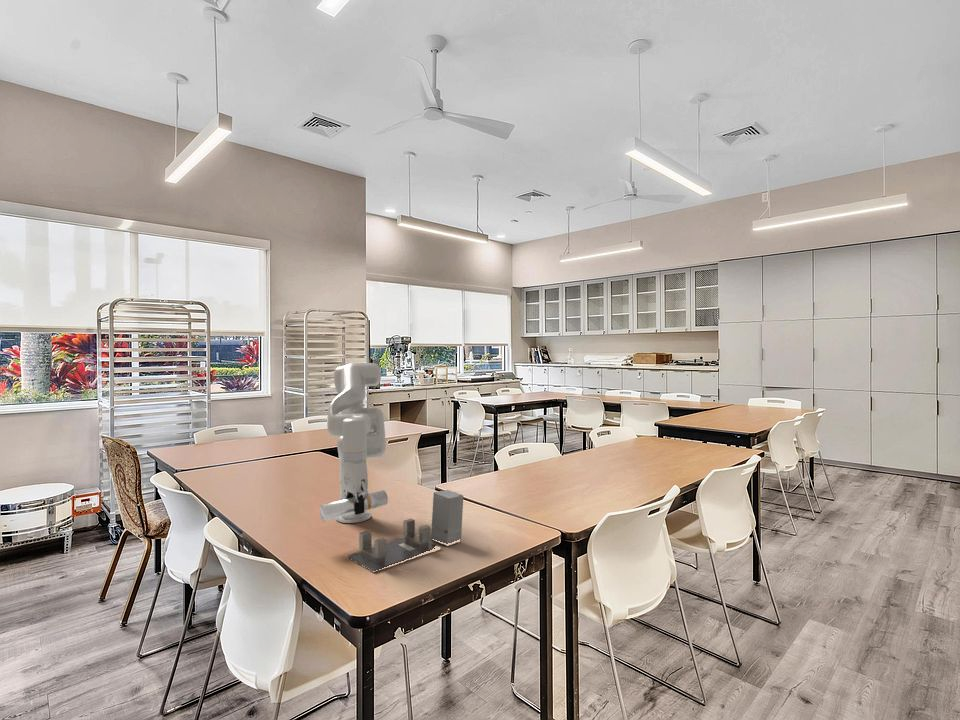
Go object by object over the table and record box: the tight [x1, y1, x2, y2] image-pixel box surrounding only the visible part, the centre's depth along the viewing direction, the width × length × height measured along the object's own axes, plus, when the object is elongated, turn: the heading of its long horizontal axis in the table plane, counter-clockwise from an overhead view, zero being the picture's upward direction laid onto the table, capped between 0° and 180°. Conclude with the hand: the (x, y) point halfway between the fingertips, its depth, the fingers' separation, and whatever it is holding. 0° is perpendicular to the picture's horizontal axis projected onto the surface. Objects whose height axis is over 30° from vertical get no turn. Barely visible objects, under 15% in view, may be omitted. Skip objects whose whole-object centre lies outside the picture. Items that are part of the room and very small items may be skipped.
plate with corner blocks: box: [348, 518, 437, 571], centre depth 155 cm, size 14×24×8 cm, turn 134°
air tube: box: [318, 489, 389, 522], centre depth 165 cm, size 22×5×5 cm, turn 134°
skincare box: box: [431, 489, 464, 544], centre depth 165 cm, size 8×7×16 cm
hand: (354, 510), depth 165 cm, fingers closed on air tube, 5 cm apart
